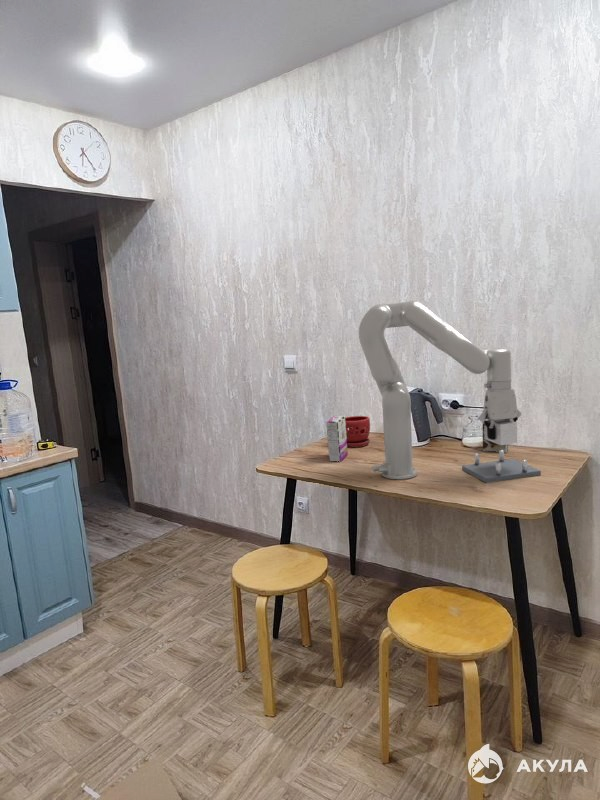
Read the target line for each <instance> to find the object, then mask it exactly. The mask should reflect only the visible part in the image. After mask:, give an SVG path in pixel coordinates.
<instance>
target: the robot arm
mask: <svg viewBox="0 0 600 800" xmlns="http://www.w3.org/2000/svg"><path fill="white" fill-rule="evenodd" d="M358 326H359V327H358V339H359V343H360V347H361V349H362V352H363V354H364V358H365V360H366V362H367V364H368V367H369V370H370V373H371V374H370V375H371V377H372V378H373V380H374V381H375V382H376V385H377V387H378V390H379V393H380V395H381V401H382V403H381V405H382V421H383V422H382V423H383V440H384V461H382V463H381V464H380V465H372V467H371V468H372V469H371V470H372V472H378V473H381V476H382V477H384V478H386V479H392V480H407V479H412V478H415V477H416V476H417V475H418V473H419V472H418V469H416V468H415V467H414V466H413V465H414V464H413V461H414V459H413V439H412V438H413V437H412V403H411V401H412V400H411V394H410V392H409V389H408V387H407V384H406V382H405V380H404V377H403V375H402V372H401V369H400V367H399V365H398V363H397V360H396V359H394V357H393V355H392V353H391V350H390V349H389V345H388V342H387V340H386V338H385V330H386V329H389V328H390V329H391V328H400V327H409V328H410V329H412V330H413V331H414V332H416V333H417V334H418V335H419V336H421V337H423V339H425V340H426V341H428V342H429V343H430V344H431V345H433V346H434V347H435V348H437V349H438V350H440V351H442V352H443V353H445V354H446V355H448V356H449V357H450V358H452V359H453V360H454V361H456V362H457V363H458V364H460V365H461V366H463V368H465V370H467V371H469V373H472V374H475V375H481V374H483V373H485V372H486V377H487V380H486V383H484V385H483V387H484V388H485V389H486V390H485V394H484V400H483V401H484V402H483V410H484V411H483V410H482V412H481V414H479V416H478V418H477V419H478V420H479V421H480V422H481V423H482V425H483V424H484V425H485V426H486V427H487V436H488V438H489V439H491V440H494V439H495V429H494V428H493V425H494V422H495V421H496V420H505V419H507V420H510V421H513V422H517V421H518V419H519V418H520V417H521V416H522V412H521V411H520V410H519V409H518V405H517V397H516V394H515V389H514V388H512V356H511V350H510V349H509V348H503V347H502V348H492V349H480V348H479V347H478V346H476V345H475V344H474V343H472V342H471V341H470V340H469V339H467V338H466V337H464V335H462V334H461V333H460V332H459V331H458V330H456V329H455V328H454V327H453V326H452V325H450V324H449V322H447V321H445V320H444V319H443V318H441V317H440V316H438V314H436V313H435V312H433V311H432V310H431V309H430V308H429V307H427V306H426V305H424V303H422V302H420V301H417V300H411V301H404V302H398V303H397V302H396V303H394V302H393V303H386V304H385V303H384V304H375V305H373V306H371V307H370V308H369V309H368V310H367V311H366V313H365V314H364V315H363V317H362V319H361V320H360V323H359V325H358ZM485 418H487V421H486V420H485Z"/></svg>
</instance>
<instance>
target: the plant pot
mask: <svg viewBox="0 0 600 800" xmlns="http://www.w3.org/2000/svg"><path fill="white" fill-rule="evenodd" d="M370 420H371V419H370V417H369V416H365V415H354V416H347V417H346V416H345V422H346V436H347V448H349V447H350V448H351V447H352V448H358V447H359V448H360V447H364V446H367V445H368V444H369V443H370V441H371V440H370V439H369V436H370V429H371V422H370Z"/></svg>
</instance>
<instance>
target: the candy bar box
mask: <svg viewBox="0 0 600 800" xmlns="http://www.w3.org/2000/svg"><path fill="white" fill-rule="evenodd" d="M345 418H346V416H345V415H333V417H331V418H330V419H328V420H327V421H326V431H327V432H326V433H327V434H326V435H327V444H328V445H327V446H328V447H327V448H328V457H329V459H328V460H329V462H330V461H337V462H336V463H341V462H342V461H343V460H344V459H345V458H346V457H347V456H348V454H349V451H348V446H347V436H346V422H345ZM338 461H339V462H338Z"/></svg>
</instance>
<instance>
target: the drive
mask: <svg viewBox="0 0 600 800" xmlns="http://www.w3.org/2000/svg"><path fill="white" fill-rule="evenodd" d="M485 420H486V421H487V419H485ZM493 428H494V429H495V439H494V440H491V439H489V438H488V436H487V427H486V426H485V425H484V439H486V440H488V441H491V442H494V443H496V444H499V445H506V444H508V445H513V444H517V443H518V430H517V429H518V424H517V421H516V422H513V421H510V420H507V419H505V420H496V421H495V422H494V425H493Z"/></svg>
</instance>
